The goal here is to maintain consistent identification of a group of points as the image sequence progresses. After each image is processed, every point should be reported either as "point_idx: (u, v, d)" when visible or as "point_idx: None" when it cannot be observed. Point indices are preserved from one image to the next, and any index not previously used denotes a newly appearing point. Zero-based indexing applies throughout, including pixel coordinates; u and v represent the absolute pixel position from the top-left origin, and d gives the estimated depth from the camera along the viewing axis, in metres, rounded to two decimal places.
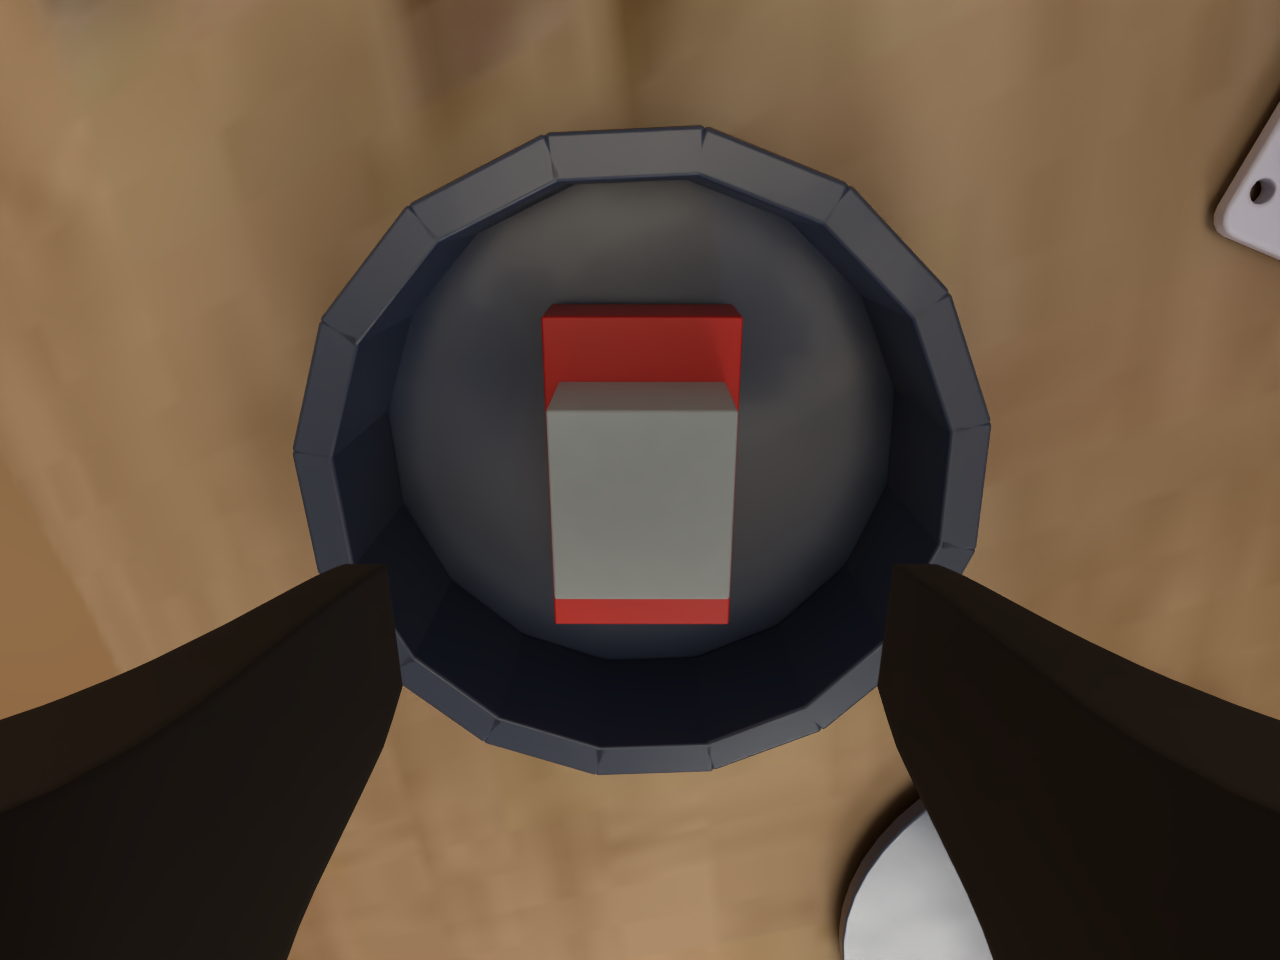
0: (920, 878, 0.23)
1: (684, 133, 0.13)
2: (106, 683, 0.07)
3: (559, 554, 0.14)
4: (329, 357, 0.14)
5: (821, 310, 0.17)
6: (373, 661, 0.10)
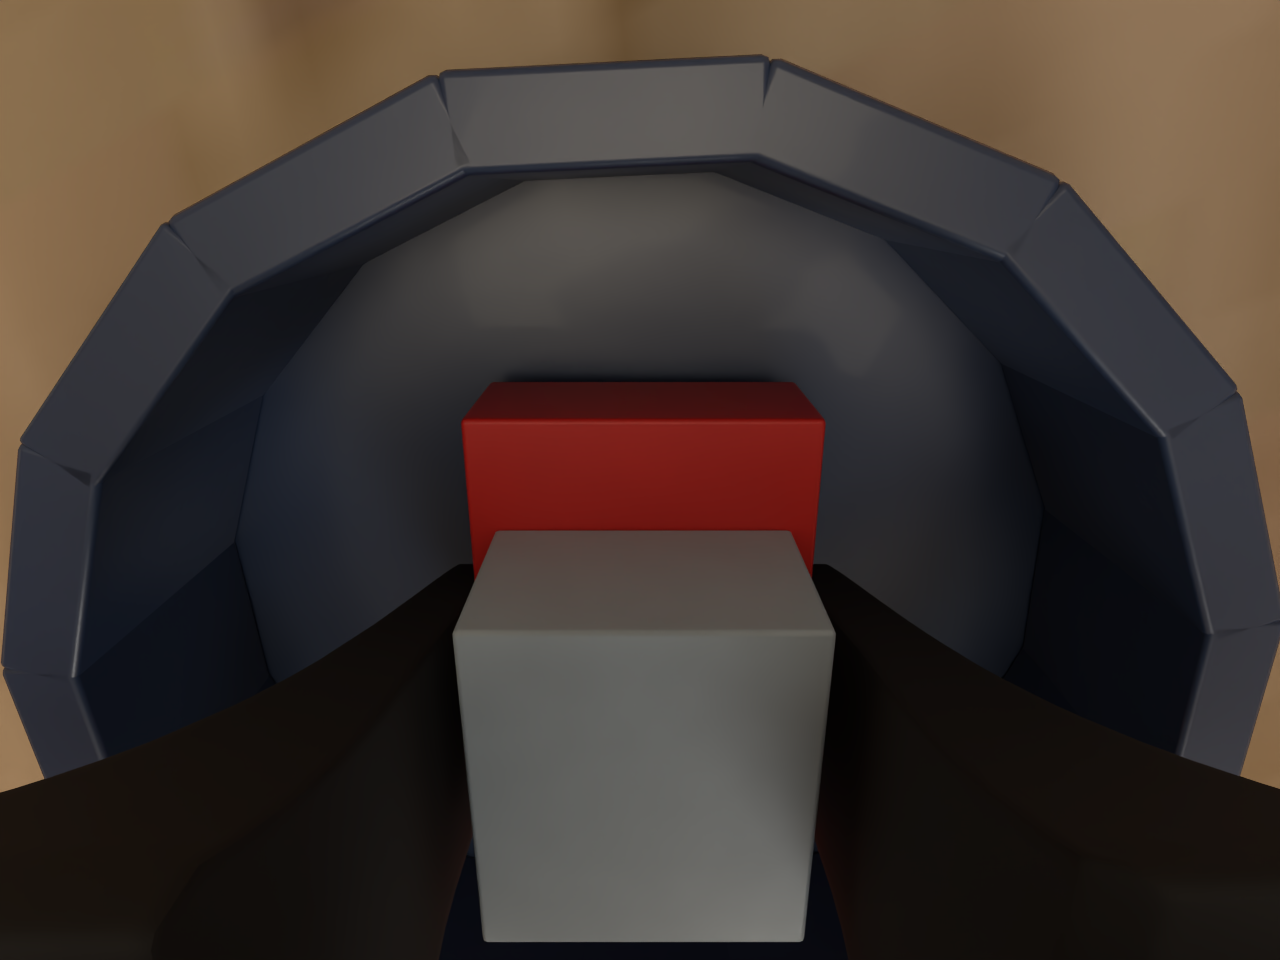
0: None
1: (728, 71, 0.06)
2: (284, 683, 0.07)
3: (488, 875, 0.08)
4: (44, 507, 0.07)
5: (933, 386, 0.11)
6: None
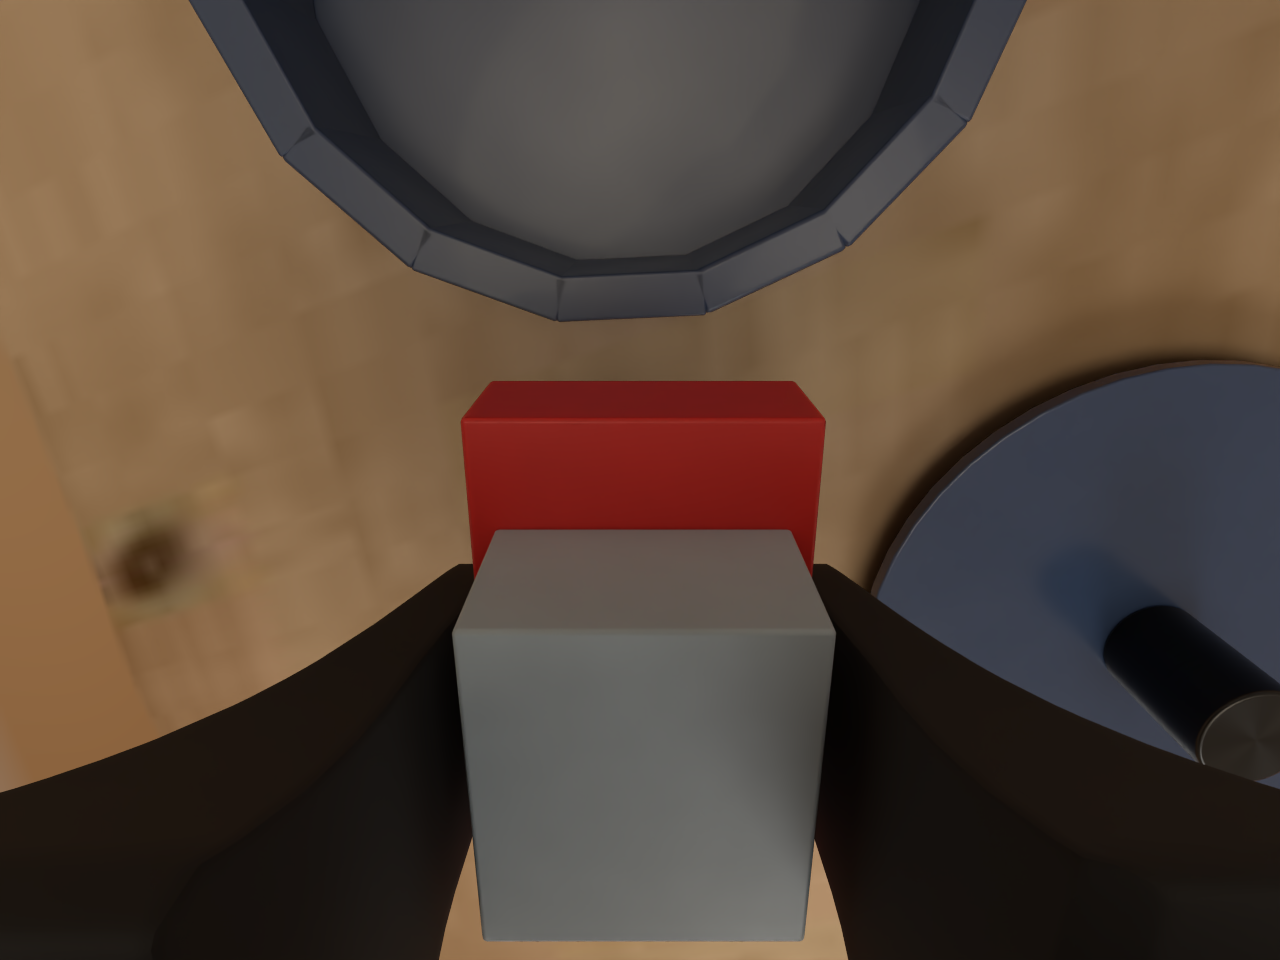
0: (959, 565, 0.19)
1: None
2: (285, 683, 0.07)
3: (488, 874, 0.08)
4: None
5: None
6: None
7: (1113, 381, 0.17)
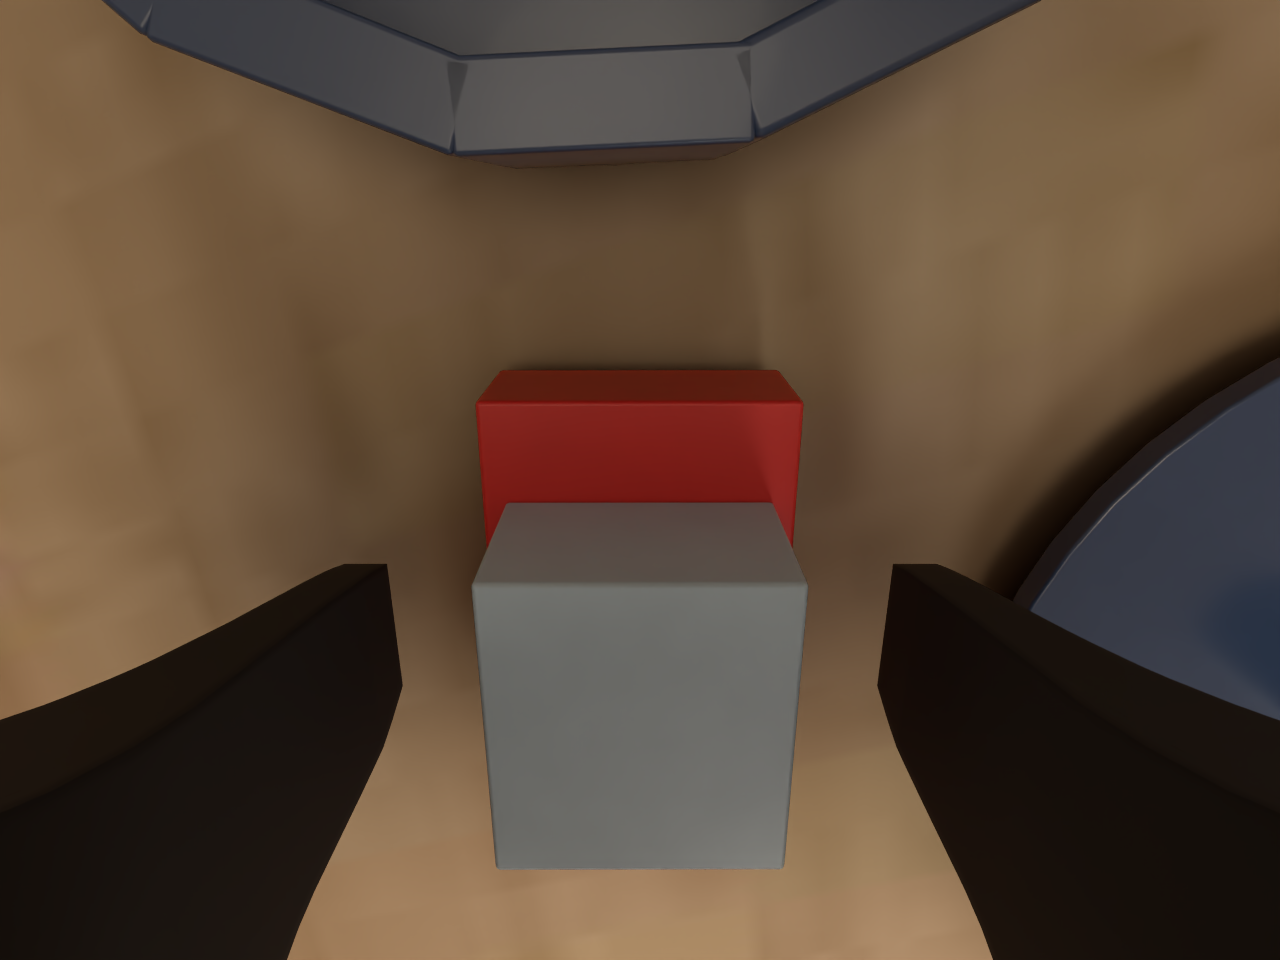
0: (1135, 615, 0.12)
1: None
2: (106, 683, 0.07)
3: (501, 806, 0.09)
4: None
5: None
6: (373, 661, 0.10)
7: None
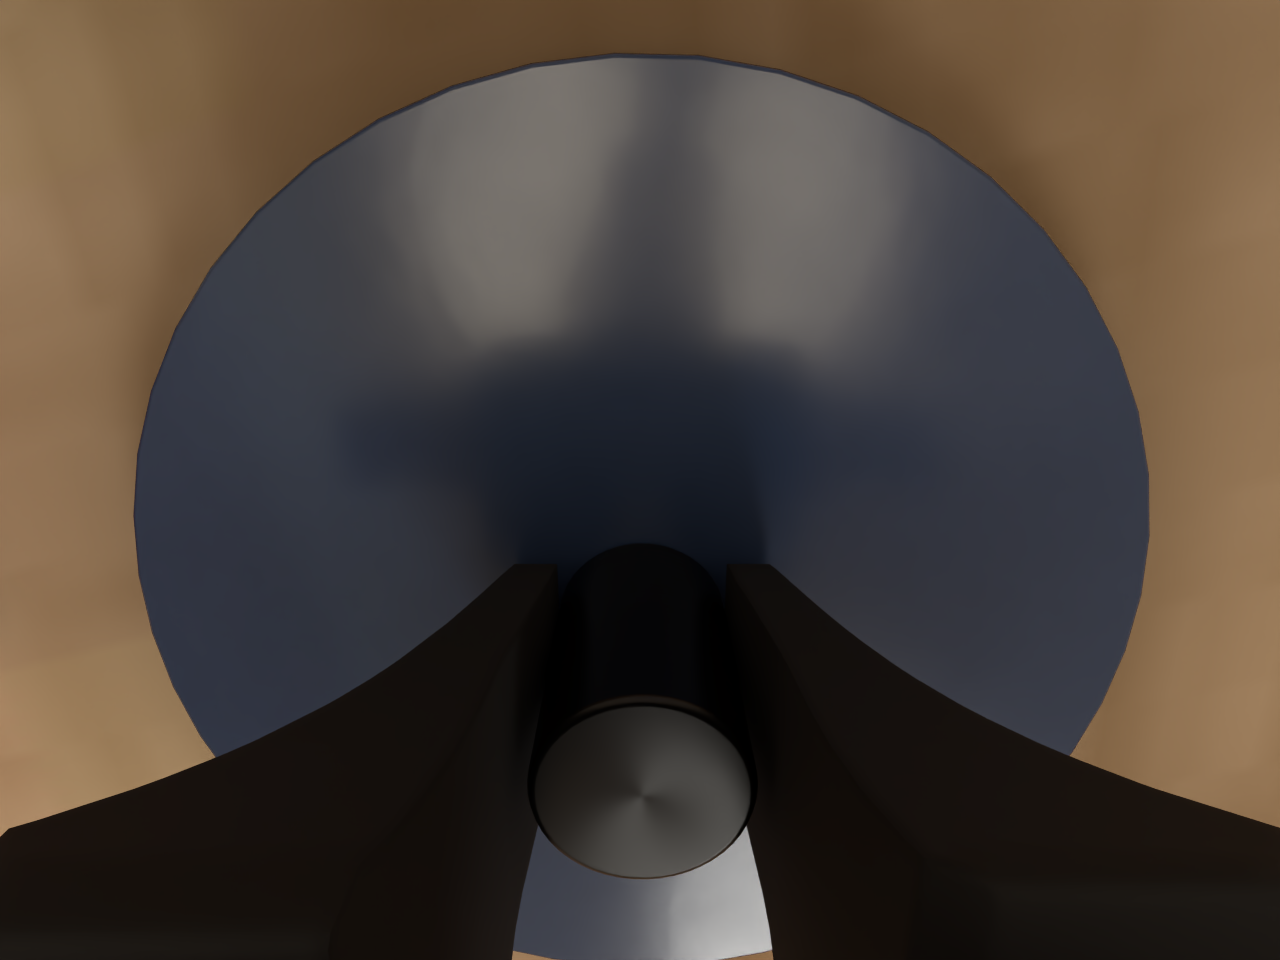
0: (258, 466, 0.10)
1: None
2: (370, 683, 0.07)
3: None
4: None
5: None
6: None
7: (436, 93, 0.09)
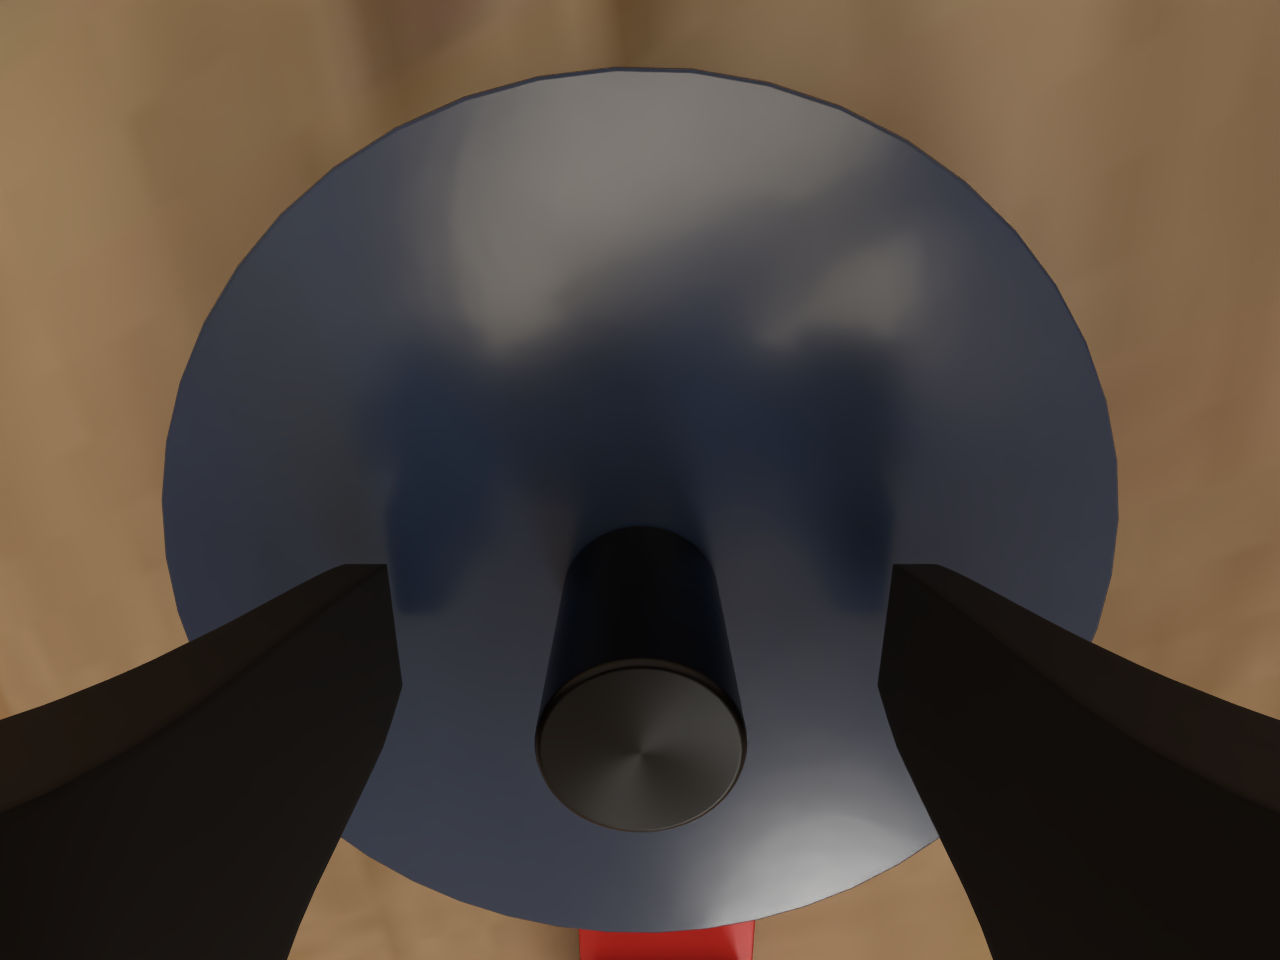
0: (279, 453, 0.11)
1: None
2: (106, 683, 0.07)
3: None
4: None
5: None
6: (373, 661, 0.10)
7: (448, 104, 0.10)
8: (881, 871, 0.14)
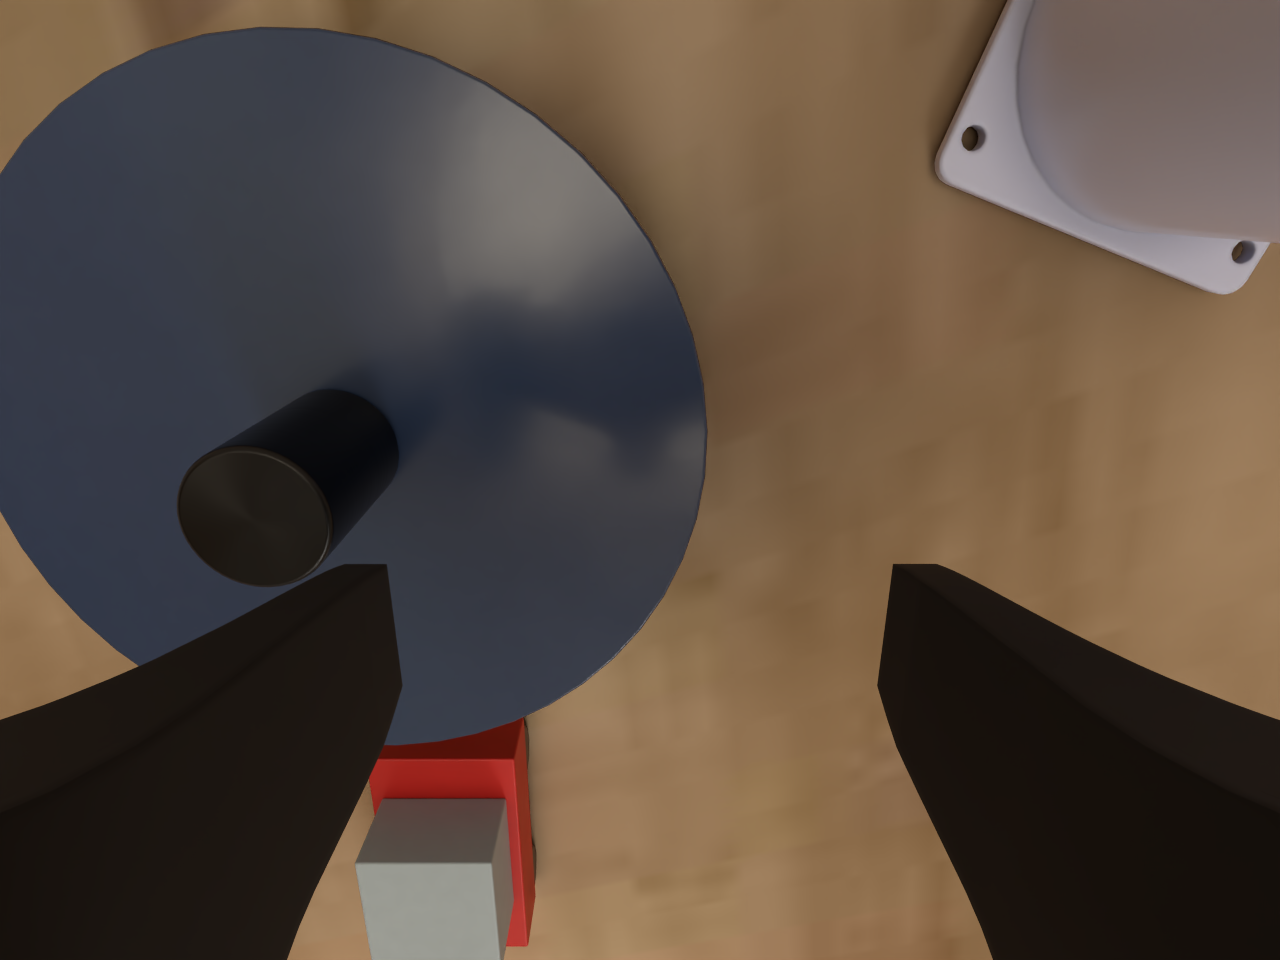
0: (43, 330, 0.14)
1: None
2: (106, 683, 0.07)
3: (373, 946, 0.20)
4: None
5: None
6: (373, 661, 0.10)
7: (140, 55, 0.13)
8: (570, 689, 0.17)
